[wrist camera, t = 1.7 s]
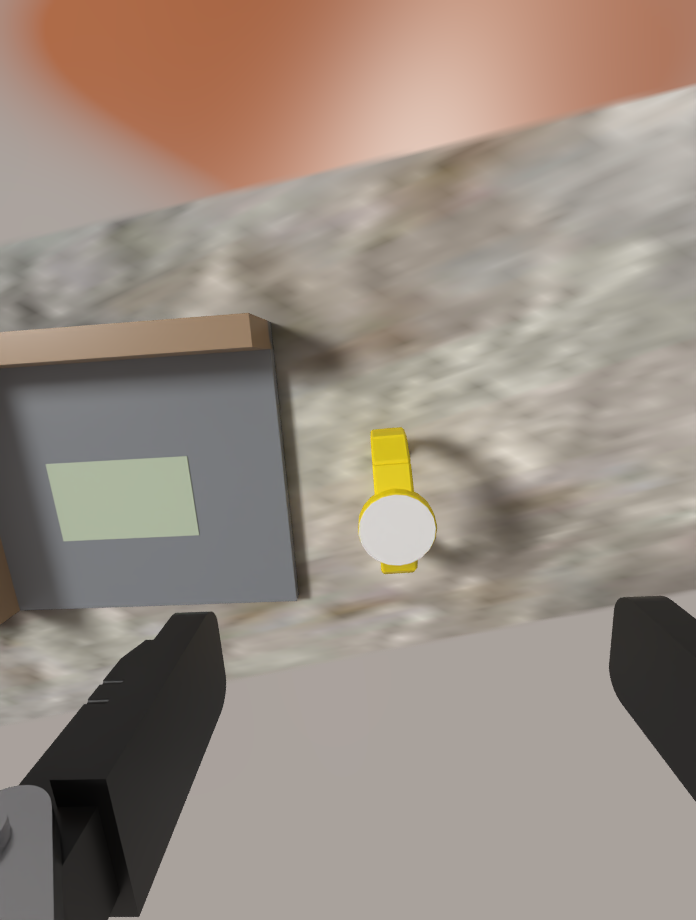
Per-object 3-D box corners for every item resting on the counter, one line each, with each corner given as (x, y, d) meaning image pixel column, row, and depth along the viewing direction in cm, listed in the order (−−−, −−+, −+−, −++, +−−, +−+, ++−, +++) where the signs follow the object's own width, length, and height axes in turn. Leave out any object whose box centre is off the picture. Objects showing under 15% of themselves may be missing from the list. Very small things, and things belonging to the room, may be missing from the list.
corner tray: (270, 321, 19) (248, 313, 15) (298, 594, 22) (285, 638, 19) (-63, 347, 20) (-155, 344, 16) (7, 604, 23) (-57, 648, 20)
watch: (420, 532, 21) (440, 606, 16) (366, 535, 22) (365, 610, 16) (414, 415, 20) (434, 450, 14) (355, 420, 20) (350, 457, 14)
